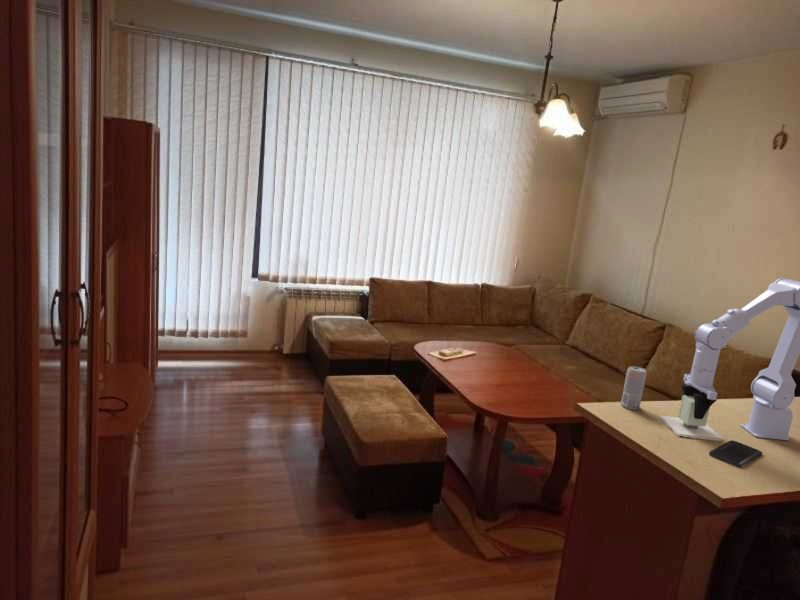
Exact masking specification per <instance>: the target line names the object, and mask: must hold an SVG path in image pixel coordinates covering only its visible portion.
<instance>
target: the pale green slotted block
mask: <svg viewBox="0 0 800 600" xmlns="http://www.w3.org/2000/svg"><path fill="white" fill-rule="evenodd" d="M679 406H680V407H679V411H678V414H677V417H678V418H680V419H681V420H682V421H683V422H684V423H686V425H694V426H704V427H705V426H706V425H707V421H708V417H709V413H710V409H711V407H710V408H709V409H708V410H707V412H706V414H705V416H704V417H703V419H695V418H694V408H695V400H694V396H687V395H683V394H682V396H681V401H680V405H679Z"/></svg>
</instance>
